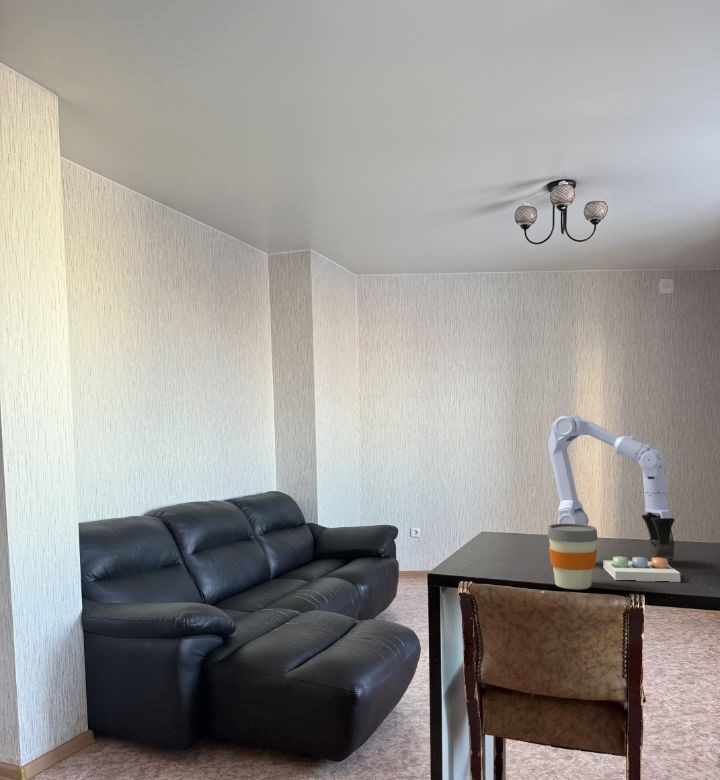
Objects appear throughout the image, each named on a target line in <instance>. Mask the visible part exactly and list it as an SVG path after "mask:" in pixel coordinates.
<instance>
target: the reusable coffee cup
mask: <svg viewBox="0 0 720 780" xmlns="http://www.w3.org/2000/svg"><path fill="white" fill-rule="evenodd" d="M547 538H548V540H549V546H548V553H549V559H550V565H551V566H552V569H553V574H554V576H553V577H554V584H555V585H556V587H559V588H563V589H569V590H586V589H590V588H591V587H590V586H592V581H593V572H594V569H595V568H596V562H597V553H598V552H597V551H598V550H597V549H596V546H597V541H598V531H597V528H596V527H595V526H592V525H589V524H588V525H582V524H558V523H555V524H554V523H553V524H549V525H548V529H547ZM589 587H590V588H589Z"/></svg>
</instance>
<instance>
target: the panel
mask: <svg viewBox="0 0 720 780" xmlns="http://www.w3.org/2000/svg"><path fill="white" fill-rule="evenodd" d="M602 561H603V562H602V564H603V565H602V567H603V568H604V569H605V570H606V571H607V572H608V573H609V574H610V575H611V576H612V577H613V578H614V579H613V578H612V577H611V576H610V575H609V574H608V573H607V574H608V575H609V576H610V577H611V578H612V579H613V580H614V581H616V580H636V581H635V582H655V581H669V582H668V583H681V572H679V571H678V570H676V569H675V568H673V567H672V566H669V565H670V564H669V565H668V569H653V568H652V560H651V561H648V568H633V567H632V560H628V568H614V567H613V559H612V560H606V559H605V560H602ZM604 569H603V570H604ZM605 570H604V571H605ZM606 571H605V572H606Z"/></svg>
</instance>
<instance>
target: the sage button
mask: <svg viewBox="0 0 720 780" xmlns="http://www.w3.org/2000/svg"><path fill="white" fill-rule="evenodd" d="M612 561H613V567H614V568H628V561H629V558H628V557H627V556H620V555H619V556H618V555H617V556H613V557H612Z"/></svg>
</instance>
